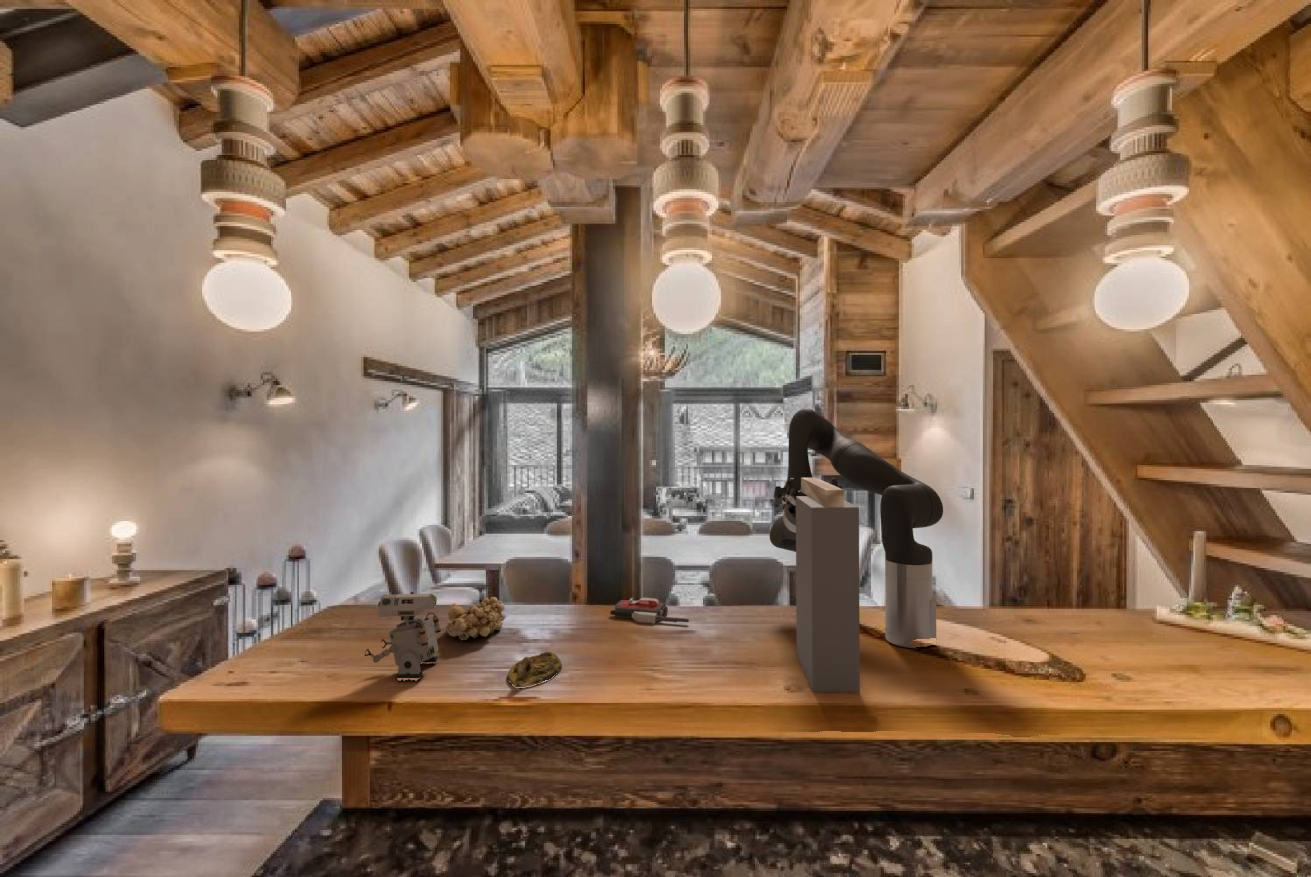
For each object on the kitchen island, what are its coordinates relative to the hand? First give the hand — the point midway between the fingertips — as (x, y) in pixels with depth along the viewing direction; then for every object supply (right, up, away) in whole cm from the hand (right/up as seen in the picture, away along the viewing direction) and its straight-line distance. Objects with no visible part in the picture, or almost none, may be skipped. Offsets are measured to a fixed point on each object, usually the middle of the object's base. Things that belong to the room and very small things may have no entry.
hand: (813, 482), depth 120 cm
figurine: (-79, -36, -8) cm, 87 cm away
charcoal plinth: (0, -35, -10) cm, 36 cm away
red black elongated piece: (-33, -35, +23) cm, 53 cm away
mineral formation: (-73, -35, +11) cm, 82 cm away
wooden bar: (0, -3, -7) cm, 7 cm away
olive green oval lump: (-55, -36, -8) cm, 66 cm away
